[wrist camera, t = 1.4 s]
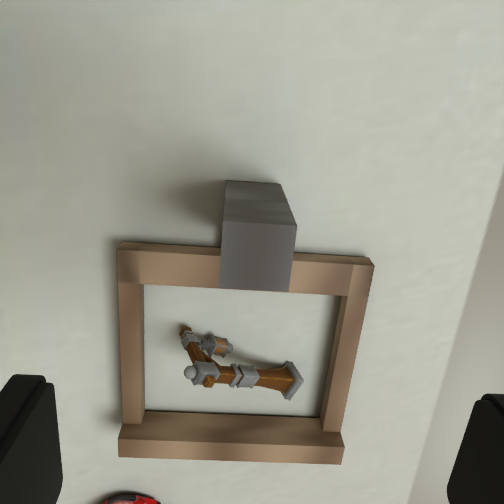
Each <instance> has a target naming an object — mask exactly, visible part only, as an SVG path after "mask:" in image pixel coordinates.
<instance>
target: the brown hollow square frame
mask: <svg viewBox="0 0 504 504" xmlns="http://www.w3.org/2000/svg"><path fill="white" fill-rule="evenodd" d="M296 231H297V224H296V222H295V219H294V217H293V214H292V212H291V209H290V207H289V204H288V202H287V199H286V197H285V194H284V192H283V189H282V187H281V184H269V183H256V182H243V181H229V180H226V187H225V200H224V212H223V225H222V241H221V248H212V247H196V246H181V245H166V244H150V243H135V242H121V244H120V245H119V247H118V248H117V271H118V301H119V330H120V360H121V389H122V419H123V424H122V427H121V430H120V434H119V437H118V457H132V458H162V459H191V460H220V461H250V462H279V463H308V464H338V465H341V462H342V457H343V453H344V448H345V447H344V443H343V440H342V436H341V433H340V431H341V426H342V421H343V416H344V412H345V407H346V402H347V397H348V392H349V387H350V383H351V378H352V373H353V368H354V363H355V359H356V354H357V349H358V344H359V339H360V334H361V330H362V325H363V320H364V315H365V310H366V305H367V301H368V296H369V291H370V286H371V281H372V277H373V272H374V267H375V266H374V264H373V263H372V262H371V260H370V259H369V258H365V257H350V256H335V255H319V254H304V253H294V246H295V239H296ZM144 284H153V285H170V286H187V287H204V288H221V289H238V290H255V291H272V292H289V293H306V294H323V295H339V296H342V297H341V303H340V308H339V314H338V319H337V325H336V330H335V336H334V341H333V347H332V352H331V358H330V363H329V369H328V374H327V380H326V385H325V391H324V396H323V402H322V407H321V413H320V418H299V417H274V416H250V415H225V414H201V413H176V412H152V411H145V379H144Z"/></svg>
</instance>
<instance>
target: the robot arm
mask: <svg viewBox="0 0 504 504" xmlns="http://www.w3.org/2000/svg"><path fill="white" fill-rule="evenodd" d="M62 481H63V473H62V463H61V453H60V442H59V432H58V422H57V411H56V401H55V391H54V385H53V383H46V379H45V377H44V376H42V375H21V374H15V375H13V376H12V377H11V378H10V379H9V381H8V382H7V383H6V385H5V386H4V387H3V389H2V390H1V392H0V504H56V502H57V499H58V497H59V494H60V491H61V487H62ZM447 496H448V500H449V503H450V504H504V394H485V395H483V397H482V398H481V400H477V401H476V402H475V404H474V407H473V410H472V413H471V416H470V419H469V422H468V425H467V428H466V431H465V434H464V437H463V440H462V443H461V446H460V449H459V452H458V455H457V458H456V461H455V464H454V467H453V470H452V473H451V476H450V479H449V482H448V485H447Z"/></svg>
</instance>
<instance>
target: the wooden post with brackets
mask: <svg viewBox="0 0 504 504" xmlns="http://www.w3.org/2000/svg"><path fill="white" fill-rule="evenodd" d="M179 335H180V337H181V339H182V342H181V343H182V345H183V347H184V349H185V350H187V352H188V354H189V356H190V359H191V361H192V363H193V365H192V366H188V367H186V368H185V370H184V375H185V377H186V378H187V379H191V381H192V383H193V385H197V384H200V385H203V386H204V387H209V388H212V386H213V385H214V383H224V384H229V386H230V387H233V388H234V386H235V385H236V386H237V388H239V387H249V388H253V386H262V387H266V388H270V389H274V390H278V391H281V393H282V395H283V396H284V398H285V399H288V400H289V401H290V400H291V398H292V397H293V395H294V394H295V393H296V391H297V390H298V389H299V387H300V386H301V384H302V383H303V382H304V380H303V378H302V377H301V375H300V373H299V372H298V370H297V369H296V367H295V366H294V364H293V362H288V361H287V362H286V363H285V365H284V366H283V367H282V368H276V369H255V367H254V366H243V365H241V364H239V365H238V367H237V365H236V363H235V364H231V366H220V365H219V364H218V363H216V362H215V361H214V360H213V359H211V358H210V357H211V356H212V354H215V355H219V356H222V357H223V358H224V357H225V355H226V354H227V353H230V352H232V350H233V346H232V344H230V343H228V341H227V339H226V338H215V337H214V335H213V334H211V335H210V337H209V339H208V340H205V338H204V339H203V340H202V341H199V340H198V339H197V337H196V335H194V334H193V332H192V330H191V328H189V327H183V328H182V330H181V332H180V333H179ZM200 343H201V344H200ZM199 345H200V346H201V348H202V350H204V349H205V350H206V351H207V353H208V355H206V354H205V353H204V352H203V351H202V350H201V349H200V347H199Z"/></svg>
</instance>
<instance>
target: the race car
mask: <svg viewBox="0 0 504 504" xmlns="http://www.w3.org/2000/svg"><path fill="white" fill-rule="evenodd" d="M101 504H161V503H160V502H157V501H155V500H153V499H150V498H148V497H144V496H139V495H121V496H116V497H112V498H109V499H107V500H105V501H103V502H102V503H101Z"/></svg>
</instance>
